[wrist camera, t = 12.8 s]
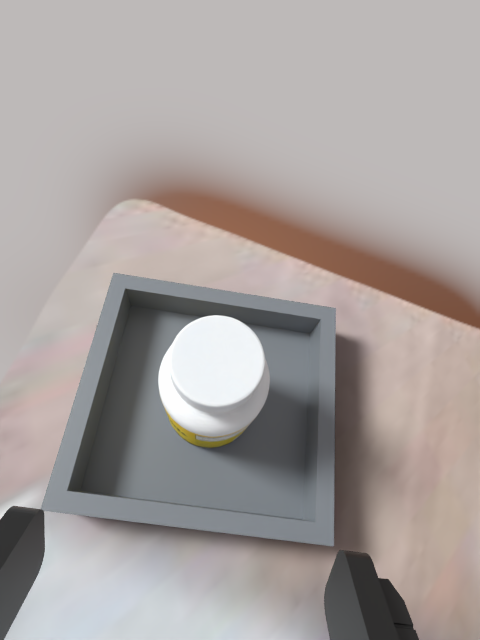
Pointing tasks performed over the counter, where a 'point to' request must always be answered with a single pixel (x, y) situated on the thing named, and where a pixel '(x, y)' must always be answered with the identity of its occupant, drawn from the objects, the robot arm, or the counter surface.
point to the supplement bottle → (213, 381)
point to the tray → (184, 458)
